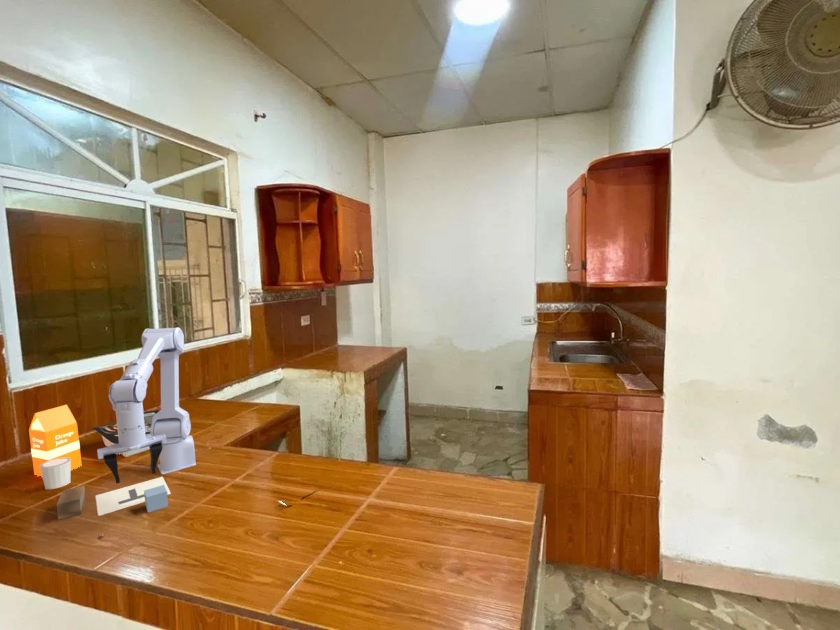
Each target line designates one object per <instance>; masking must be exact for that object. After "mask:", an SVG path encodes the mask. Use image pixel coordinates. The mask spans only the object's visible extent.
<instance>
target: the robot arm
mask: <svg viewBox="0 0 840 630" xmlns="http://www.w3.org/2000/svg"><path fill="white" fill-rule="evenodd" d="M141 344H142V348H141V350H140V353H139V354H138V357H137V358H135V359H133V360H131V361H130V362H129V364H128V366H127V367H126V369H125V371H124V372H123V374H122V376H121V377H120V379H119V380H115V382H113V383H112V384H111V385H110V386H109V390H108V391H109V392H108V400H109V401H110V402H109V403H111V405H112V410H113V412H115V417H116V422H117V428H118V439H119V443H117V444H114V445H111V446H108V447H107V446H105V447H101V448H97V449H96V451H97V459H98V460H102V459H103V462H104V463H105V465H106V466H107V467H108V468H109V470H110V471H111V473H112V475H113V477H114V479H115V483H116V484H117V485H118V484H120V483H121V481H120V480H121V479H120V475H119V470H118V459H117V455H118V454H119V453H124V452H128V451H133V450H137V449H141V448H145V447H150V450H149V454H150V472H151V474H152V475H154V474H156V471H157V468H158V470H159V472H160V475H165V474H169V473H173V472H178V471H180V470H183V469H187V468H190V467H195V466H196V465H197V463H196V451H195V442H194V438H193V435H190V433H191V430H192V425H191V424H192V423H191V420H190V414H189V412H188V411H186V410H185V409H183V408H182V407H180V390H179V389H180V388H179V387H180V382H179V379H180V375H179V373H180V372H179V371H180V370H179V367H180V366H179V365H180V364H179V362H180V361H179V360H180V359H179V357H180V355H182V354H184V350H185V335H184V332H183V330H182V329H181V328H180V327H167V328H165V327H163V328H162V327H161V328H145V329H144V330H143V331H142V334H141ZM157 357H158V358H159V360H160V410H159V412H158V413H156V414H155V415H154V416H153V417H152V425H151V428H150V434H151V437H146V435H145V424H144V413H143V412H144V406H143V403H144V402H143V401H144V399H145V398H146V396H147V388H148V381H149V379H150V377H151V375H152V373H153V371H154V366H153V363H154V361H155V360H156V358H157ZM165 418H175V419H165ZM158 460H159V461H160V462H159V463H160V464H159V463H158Z"/></svg>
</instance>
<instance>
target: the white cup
mask: <svg viewBox="0 0 840 630" xmlns="http://www.w3.org/2000/svg"><path fill="white" fill-rule="evenodd" d="M40 469H41V473H42V477H41V478H42V481H43V484H44V485H43V486H44V489H45V490H46V491H47V490H54V489H58V488H62V487H65V486H67V485H70V484H71V472H72V470H71V459H70V458H68V457H65V458H57V459H53V460H49V461H47V462H44V463H43V464H41V465H40ZM69 483H70V484H69Z"/></svg>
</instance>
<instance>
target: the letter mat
mask: <svg viewBox="0 0 840 630" xmlns="http://www.w3.org/2000/svg"><path fill="white" fill-rule="evenodd" d="M162 485H164V486H165V488H166V490H167V496H168V495H172V493H171V490H170V488H169V487H168V484H167V483H166V481H165V478H164V477H163V476H160V477H156V478H153V479H149V480H145V481H142V482H139V483H135V484H132V485H129V486H124V487H120V488H118V489H117V488H116V489H114V490H111V491H107V492H103V493H99V494H96V495H95V502H96V503H95V504H96V510H97V516H98V517H99V516H104V515H106V514H110V513H113V512H116V511H119V510H123V509H125V508H129V507H132V506H136V505H138V504H142V503H145V495H144V491H145V490H148V489H151V488H155V487H158V486H162Z"/></svg>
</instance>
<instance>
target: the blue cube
mask: <svg viewBox="0 0 840 630" xmlns="http://www.w3.org/2000/svg"><path fill="white" fill-rule="evenodd" d="M144 495H145V502H144V503H145V507H146V511H147V513H148V514H149V513H151V512H155V511H158V510H160V509H164V508H167V507H169V500H168V495H167V490H166V488H165V486H164V485H162V486H158V487H155V488H151V489H148V490H145V491H144Z"/></svg>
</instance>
